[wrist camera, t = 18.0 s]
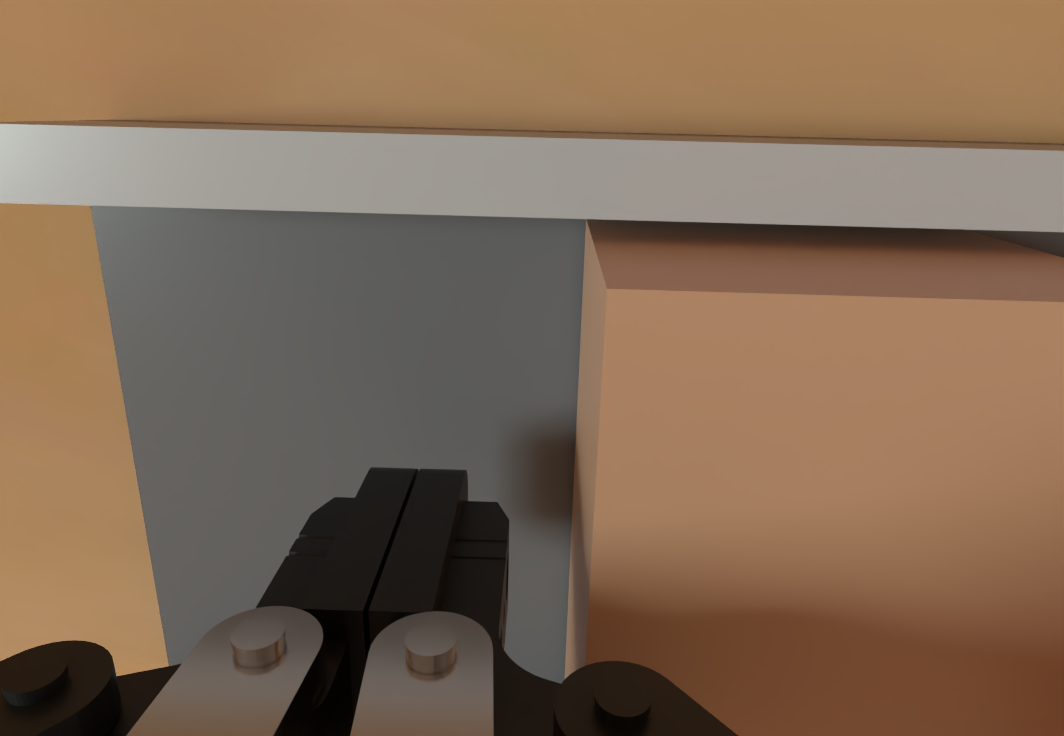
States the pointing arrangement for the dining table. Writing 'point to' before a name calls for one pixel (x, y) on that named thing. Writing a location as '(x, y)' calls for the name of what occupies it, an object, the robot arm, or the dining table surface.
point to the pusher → (823, 475)
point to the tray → (417, 309)
